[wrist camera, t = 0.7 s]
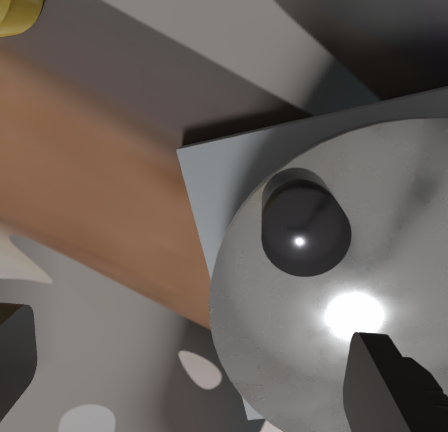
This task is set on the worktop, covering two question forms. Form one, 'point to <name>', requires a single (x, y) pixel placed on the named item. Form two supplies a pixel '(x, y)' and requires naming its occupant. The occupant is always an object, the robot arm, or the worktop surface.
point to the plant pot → (18, 15)
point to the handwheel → (335, 269)
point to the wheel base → (273, 161)
